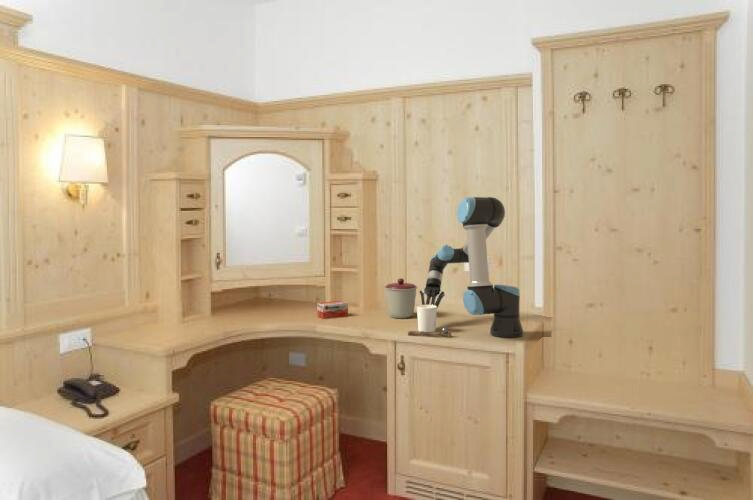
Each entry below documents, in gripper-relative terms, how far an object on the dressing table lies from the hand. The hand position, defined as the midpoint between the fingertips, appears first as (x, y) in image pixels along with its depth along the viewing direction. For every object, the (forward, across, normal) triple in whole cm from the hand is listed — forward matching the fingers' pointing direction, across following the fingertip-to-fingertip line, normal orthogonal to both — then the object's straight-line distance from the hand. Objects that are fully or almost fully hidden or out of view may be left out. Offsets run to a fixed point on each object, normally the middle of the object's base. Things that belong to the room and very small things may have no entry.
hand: (427, 319), depth 308 cm
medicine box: (-10, +57, -18) cm, 61 cm away
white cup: (+7, -1, 0) cm, 7 cm away
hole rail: (+14, -4, +7) cm, 16 cm away
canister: (-16, +21, -24) cm, 35 cm away
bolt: (+13, -12, +9) cm, 19 cm away
